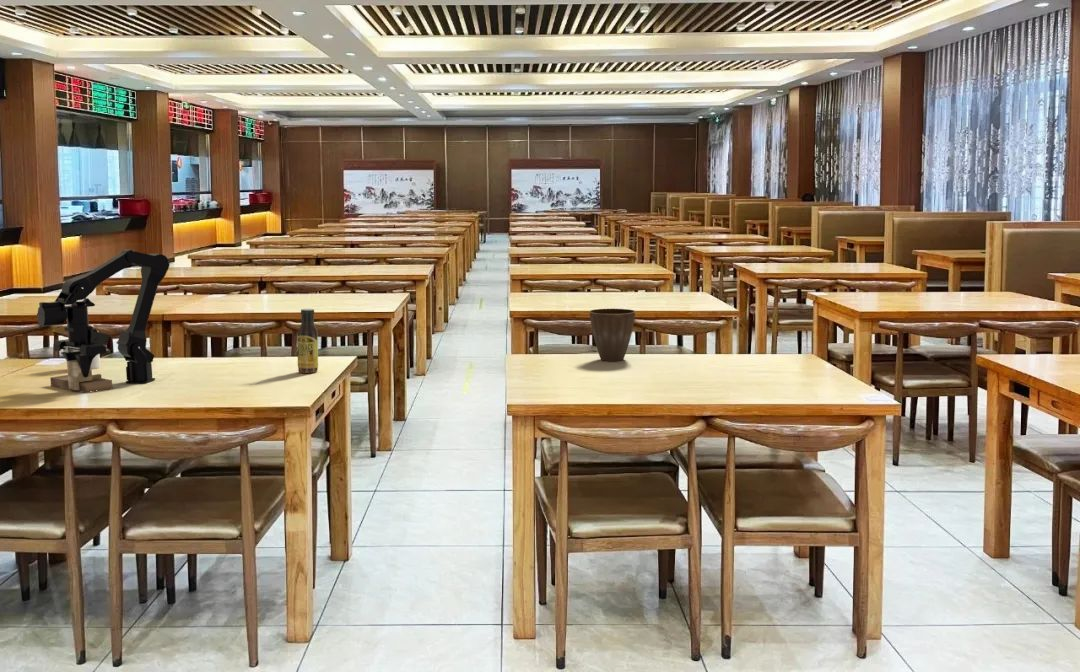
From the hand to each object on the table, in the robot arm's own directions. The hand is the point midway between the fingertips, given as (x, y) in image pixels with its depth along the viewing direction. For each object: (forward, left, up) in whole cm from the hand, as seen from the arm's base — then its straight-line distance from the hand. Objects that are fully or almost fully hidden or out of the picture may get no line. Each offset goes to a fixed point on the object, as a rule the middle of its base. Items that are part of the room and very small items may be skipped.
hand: (81, 376), depth 315 cm
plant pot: (-149, -62, -4) cm, 162 cm away
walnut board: (+3, -4, -4) cm, 7 cm away
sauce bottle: (-56, -33, -4) cm, 66 cm away
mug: (+20, -36, -4) cm, 41 cm away
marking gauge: (-1, -1, -3) cm, 4 cm away
